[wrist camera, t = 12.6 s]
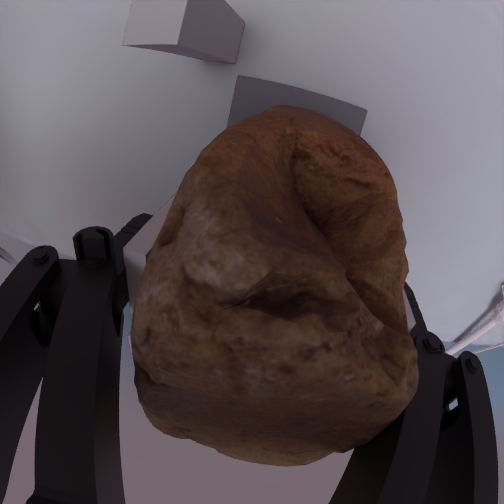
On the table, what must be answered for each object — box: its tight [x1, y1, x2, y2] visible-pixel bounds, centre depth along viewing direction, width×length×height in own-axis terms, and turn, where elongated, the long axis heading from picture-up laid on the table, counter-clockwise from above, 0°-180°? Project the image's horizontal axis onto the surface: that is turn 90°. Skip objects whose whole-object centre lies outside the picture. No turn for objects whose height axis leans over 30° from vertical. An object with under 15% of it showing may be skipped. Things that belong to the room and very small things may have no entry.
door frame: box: [122, 0, 245, 352], centre depth 20 cm, size 3×28×12 cm, turn 168°
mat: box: [227, 75, 367, 136], centre depth 23 cm, size 11×14×1 cm
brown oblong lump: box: [130, 105, 419, 466], centre depth 14 cm, size 11×8×20 cm
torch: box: [445, 285, 504, 358], centre depth 27 cm, size 6×9×25 cm
